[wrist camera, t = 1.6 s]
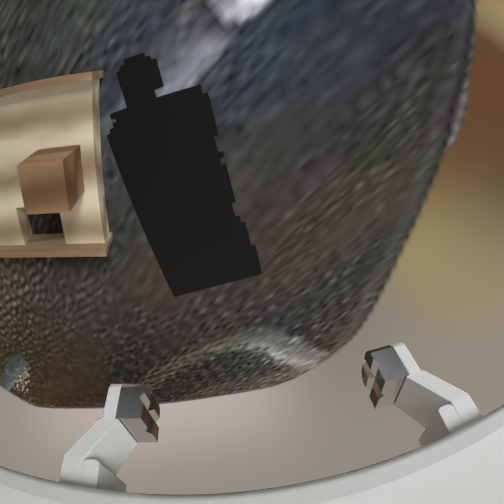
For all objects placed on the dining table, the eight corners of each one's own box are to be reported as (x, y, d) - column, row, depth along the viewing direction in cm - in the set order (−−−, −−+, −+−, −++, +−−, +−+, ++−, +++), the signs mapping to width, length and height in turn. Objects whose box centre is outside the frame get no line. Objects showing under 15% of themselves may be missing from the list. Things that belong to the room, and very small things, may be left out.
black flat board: (174, 296, 42) (87, 74, 25) (174, 293, 43) (89, 74, 25) (261, 273, 42) (204, 35, 25) (261, 271, 43) (204, 35, 25)
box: (-63, 110, 20) (-82, 118, 17) (103, 70, 25) (91, 71, 22) (-37, 242, 31) (-49, 258, 27) (113, 237, 36) (106, 256, 32)
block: (38, 149, 26) (16, 165, 21) (80, 144, 27) (62, 160, 22) (44, 193, 28) (26, 214, 24) (84, 190, 29) (69, 212, 25)
